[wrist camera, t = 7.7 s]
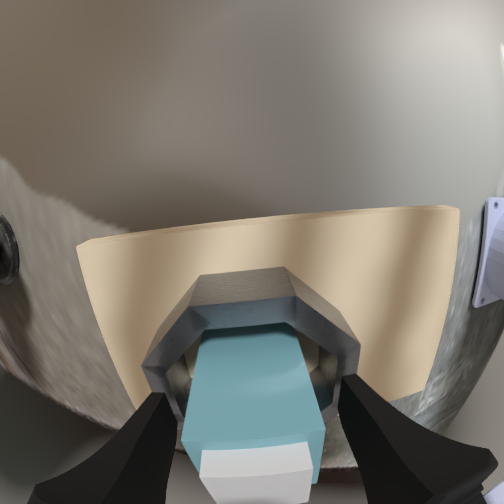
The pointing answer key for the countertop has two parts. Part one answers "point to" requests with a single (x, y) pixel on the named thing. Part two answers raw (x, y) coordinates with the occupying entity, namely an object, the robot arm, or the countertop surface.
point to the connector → (253, 417)
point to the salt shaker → (8, 253)
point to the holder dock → (279, 295)
